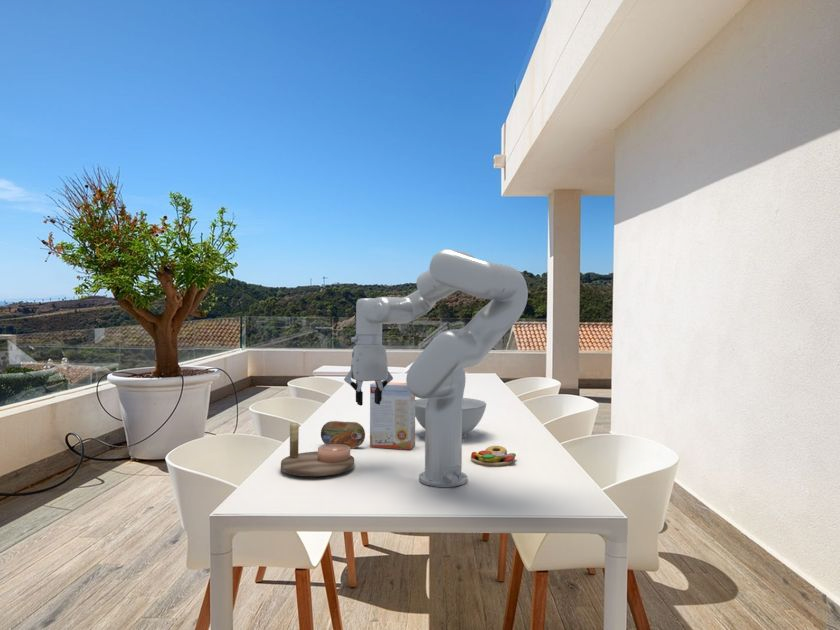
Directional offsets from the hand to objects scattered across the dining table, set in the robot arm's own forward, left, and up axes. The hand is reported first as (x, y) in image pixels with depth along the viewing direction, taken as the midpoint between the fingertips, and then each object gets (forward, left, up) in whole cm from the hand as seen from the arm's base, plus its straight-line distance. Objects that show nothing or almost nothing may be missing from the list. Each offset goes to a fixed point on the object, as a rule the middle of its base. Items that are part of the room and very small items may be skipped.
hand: (368, 403), depth 154 cm
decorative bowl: (+25, -37, -18) cm, 48 cm away
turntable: (0, +15, -17) cm, 23 cm away
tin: (+23, +2, -18) cm, 29 cm away
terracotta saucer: (0, +10, -15) cm, 18 cm away
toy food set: (-10, -35, -18) cm, 41 cm away
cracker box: (+17, -13, -18) cm, 28 cm away
